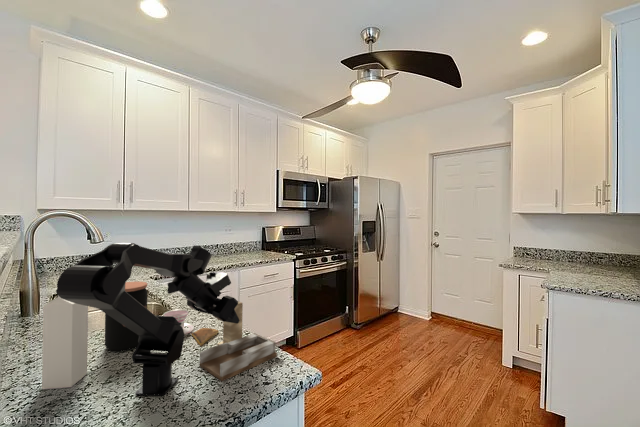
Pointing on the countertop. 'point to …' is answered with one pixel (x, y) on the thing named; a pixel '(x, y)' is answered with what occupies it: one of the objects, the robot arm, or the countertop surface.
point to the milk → (64, 343)
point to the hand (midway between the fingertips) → (229, 318)
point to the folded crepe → (204, 335)
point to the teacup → (180, 319)
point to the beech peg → (233, 327)
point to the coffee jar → (117, 333)
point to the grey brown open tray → (237, 356)
